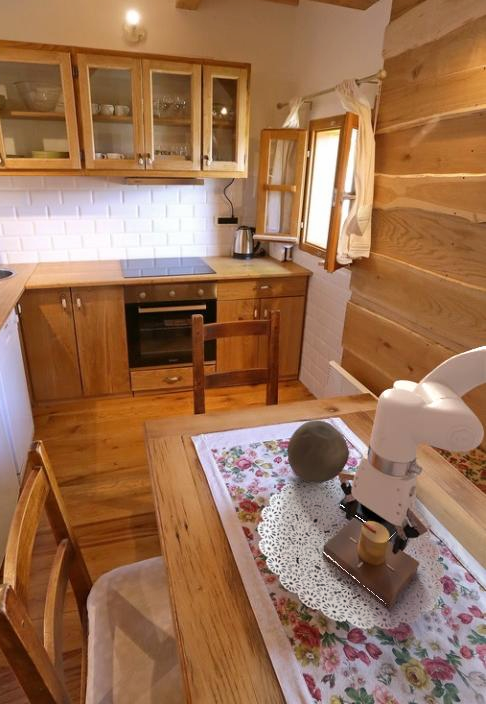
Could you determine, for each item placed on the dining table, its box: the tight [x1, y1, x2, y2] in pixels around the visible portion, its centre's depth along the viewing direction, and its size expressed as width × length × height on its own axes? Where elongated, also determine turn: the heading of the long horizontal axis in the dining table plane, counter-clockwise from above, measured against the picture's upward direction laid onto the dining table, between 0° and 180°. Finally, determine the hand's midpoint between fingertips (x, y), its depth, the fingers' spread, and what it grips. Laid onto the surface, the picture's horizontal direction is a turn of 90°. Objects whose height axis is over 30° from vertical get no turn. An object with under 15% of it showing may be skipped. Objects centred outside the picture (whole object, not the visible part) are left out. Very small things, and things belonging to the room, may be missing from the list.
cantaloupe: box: [286, 419, 350, 484], centre depth 100 cm, size 14×14×15 cm
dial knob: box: [358, 521, 390, 565], centre depth 78 cm, size 5×5×6 cm
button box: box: [338, 497, 411, 542], centre depth 91 cm, size 12×10×4 cm
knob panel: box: [321, 518, 420, 611], centre depth 79 cm, size 14×11×3 cm
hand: (372, 532), depth 77 cm, fingers open, 9 cm apart
